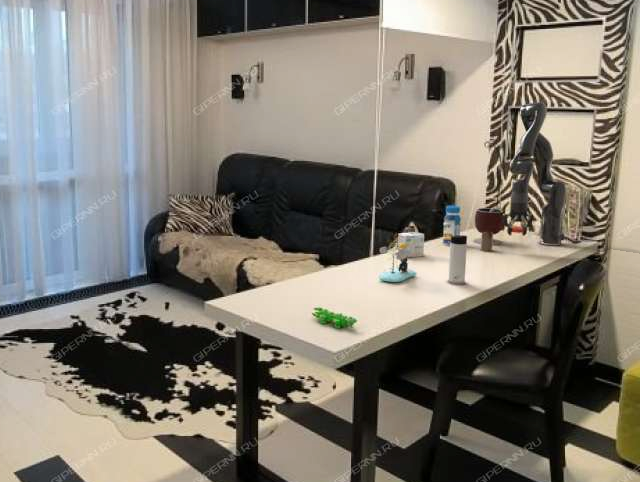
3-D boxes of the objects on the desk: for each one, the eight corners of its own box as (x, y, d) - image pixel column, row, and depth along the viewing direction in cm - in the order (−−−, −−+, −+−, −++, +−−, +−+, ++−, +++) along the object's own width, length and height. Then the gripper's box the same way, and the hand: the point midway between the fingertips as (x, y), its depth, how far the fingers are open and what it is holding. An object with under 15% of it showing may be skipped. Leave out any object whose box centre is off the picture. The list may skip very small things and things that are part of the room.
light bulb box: (415, 252, 297) (416, 231, 295) (424, 256, 291) (425, 234, 289) (397, 254, 294) (397, 233, 292) (404, 257, 287) (405, 235, 286)
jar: (487, 248, 305) (488, 230, 303) (494, 250, 300) (495, 232, 298) (478, 249, 303) (479, 231, 301) (485, 251, 298) (487, 233, 297)
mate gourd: (470, 238, 327) (472, 202, 324) (497, 239, 325) (500, 202, 322) (477, 245, 312) (480, 207, 309) (506, 245, 310) (508, 207, 307)
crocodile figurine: (350, 333, 194) (350, 320, 193) (306, 319, 206) (306, 307, 206) (362, 327, 198) (362, 315, 197) (318, 314, 211) (319, 302, 210)
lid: (510, 232, 293) (510, 228, 293) (510, 229, 298) (511, 226, 298) (523, 233, 291) (523, 229, 290) (523, 230, 296) (524, 227, 295)
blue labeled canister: (462, 246, 310) (464, 207, 307) (445, 246, 311) (447, 207, 307) (456, 242, 319) (458, 205, 316) (440, 242, 319) (442, 205, 316)
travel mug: (457, 285, 243) (460, 237, 240) (445, 281, 249) (447, 234, 245) (468, 283, 246) (471, 235, 243) (456, 279, 252) (458, 232, 248)
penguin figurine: (399, 271, 265) (400, 237, 263) (421, 275, 257) (422, 241, 255) (372, 280, 252) (373, 244, 249) (395, 285, 244) (396, 249, 241)
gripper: (532, 200, 295) (529, 233, 298) (501, 199, 297) (499, 233, 299) (537, 202, 288) (534, 237, 290) (506, 202, 289) (503, 236, 292)
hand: (516, 234), depth 295 cm, fingers closed on lid, 5 cm apart
